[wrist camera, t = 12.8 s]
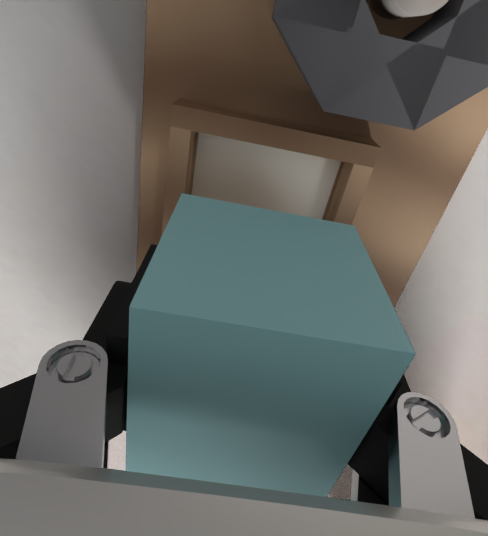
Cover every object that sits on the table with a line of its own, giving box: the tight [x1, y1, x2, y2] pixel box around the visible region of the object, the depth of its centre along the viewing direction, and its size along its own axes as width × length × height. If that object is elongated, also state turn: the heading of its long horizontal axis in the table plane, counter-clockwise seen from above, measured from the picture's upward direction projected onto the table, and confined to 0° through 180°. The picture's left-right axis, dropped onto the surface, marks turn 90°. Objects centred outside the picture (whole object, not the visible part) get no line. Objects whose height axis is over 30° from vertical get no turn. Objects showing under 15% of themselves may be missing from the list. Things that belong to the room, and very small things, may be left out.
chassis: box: [136, 0, 488, 307], centre depth 15 cm, size 19×14×4 cm
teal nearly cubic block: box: [126, 193, 416, 497], centre depth 10 cm, size 6×5×5 cm
